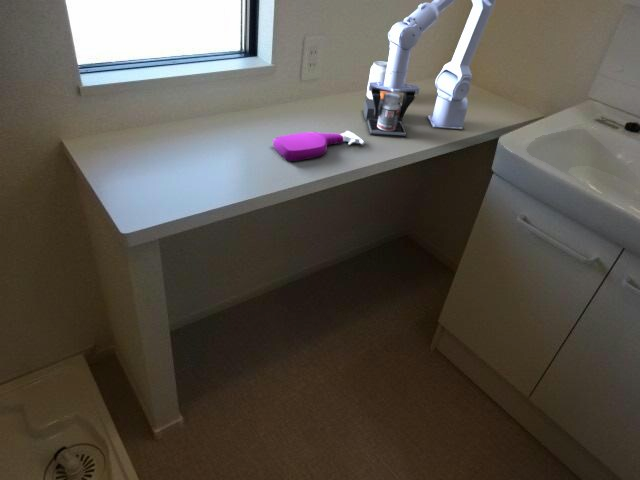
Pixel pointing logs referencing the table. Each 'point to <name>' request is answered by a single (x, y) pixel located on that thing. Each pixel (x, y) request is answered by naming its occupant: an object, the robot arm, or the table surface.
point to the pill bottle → (389, 112)
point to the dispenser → (370, 109)
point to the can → (377, 74)
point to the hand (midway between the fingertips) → (388, 115)
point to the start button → (383, 94)
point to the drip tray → (376, 131)
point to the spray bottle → (310, 144)
